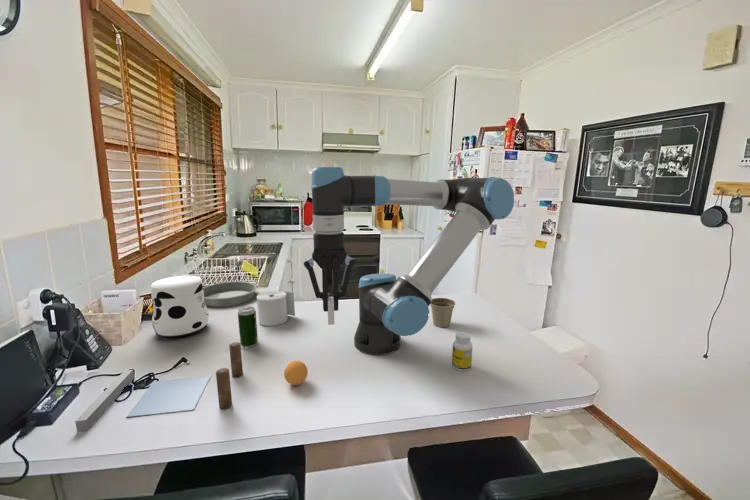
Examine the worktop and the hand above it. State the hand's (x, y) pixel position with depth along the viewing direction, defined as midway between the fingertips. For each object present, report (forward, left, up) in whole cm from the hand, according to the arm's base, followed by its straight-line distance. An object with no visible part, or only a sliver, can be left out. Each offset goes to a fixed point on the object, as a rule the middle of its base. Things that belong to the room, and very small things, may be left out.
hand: (331, 322), depth 89 cm
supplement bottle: (-37, 0, -17) cm, 40 cm away
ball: (+9, 0, -13) cm, 16 cm away
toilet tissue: (+19, -44, -17) cm, 51 cm away
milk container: (+50, -40, -17) cm, 66 cm away
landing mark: (+39, 0, -16) cm, 43 cm away
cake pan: (+42, -73, -17) cm, 86 cm away
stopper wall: (+53, 0, -16) cm, 56 cm away
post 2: (+25, -7, -16) cm, 31 cm away
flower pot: (-42, -29, -17) cm, 53 cm away
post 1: (+25, +7, -16) cm, 31 cm away
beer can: (+25, -25, -17) cm, 39 cm away
